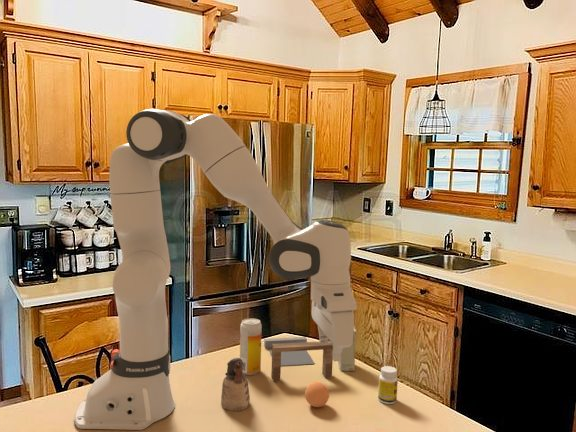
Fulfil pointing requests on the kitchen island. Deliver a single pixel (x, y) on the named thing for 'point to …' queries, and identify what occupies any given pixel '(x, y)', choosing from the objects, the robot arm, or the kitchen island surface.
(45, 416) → the kitchen island surface
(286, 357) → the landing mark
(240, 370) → the figurine
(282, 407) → the kitchen island surface
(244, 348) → the beer can
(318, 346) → the bridge
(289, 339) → the stopper
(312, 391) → the ball
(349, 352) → the skincare box
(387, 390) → the supplement bottle
